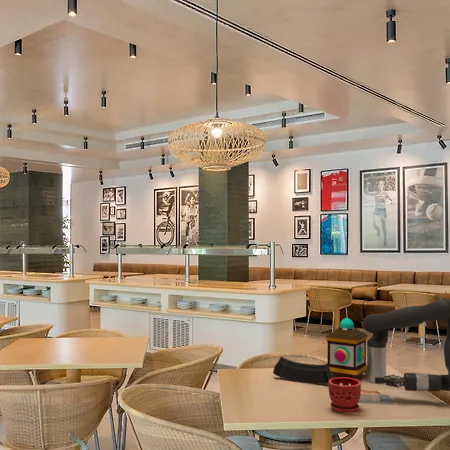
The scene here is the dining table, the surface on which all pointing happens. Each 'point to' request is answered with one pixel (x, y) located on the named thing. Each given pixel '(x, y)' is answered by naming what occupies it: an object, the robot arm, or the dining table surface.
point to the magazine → (302, 372)
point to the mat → (384, 400)
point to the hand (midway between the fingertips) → (375, 380)
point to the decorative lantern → (347, 350)
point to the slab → (370, 395)
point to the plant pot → (344, 394)
